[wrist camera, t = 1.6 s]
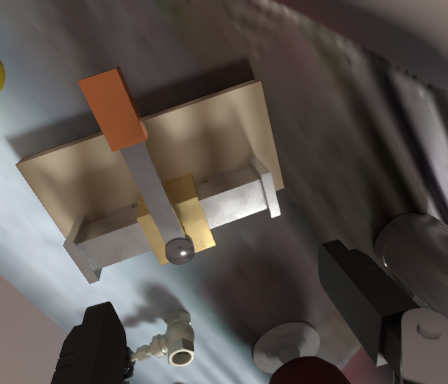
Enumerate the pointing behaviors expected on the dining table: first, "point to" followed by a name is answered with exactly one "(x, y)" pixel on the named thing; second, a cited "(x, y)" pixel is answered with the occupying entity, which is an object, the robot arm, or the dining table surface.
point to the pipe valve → (186, 212)
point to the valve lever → (136, 155)
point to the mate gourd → (294, 356)
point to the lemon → (2, 76)
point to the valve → (166, 344)
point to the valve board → (155, 155)
